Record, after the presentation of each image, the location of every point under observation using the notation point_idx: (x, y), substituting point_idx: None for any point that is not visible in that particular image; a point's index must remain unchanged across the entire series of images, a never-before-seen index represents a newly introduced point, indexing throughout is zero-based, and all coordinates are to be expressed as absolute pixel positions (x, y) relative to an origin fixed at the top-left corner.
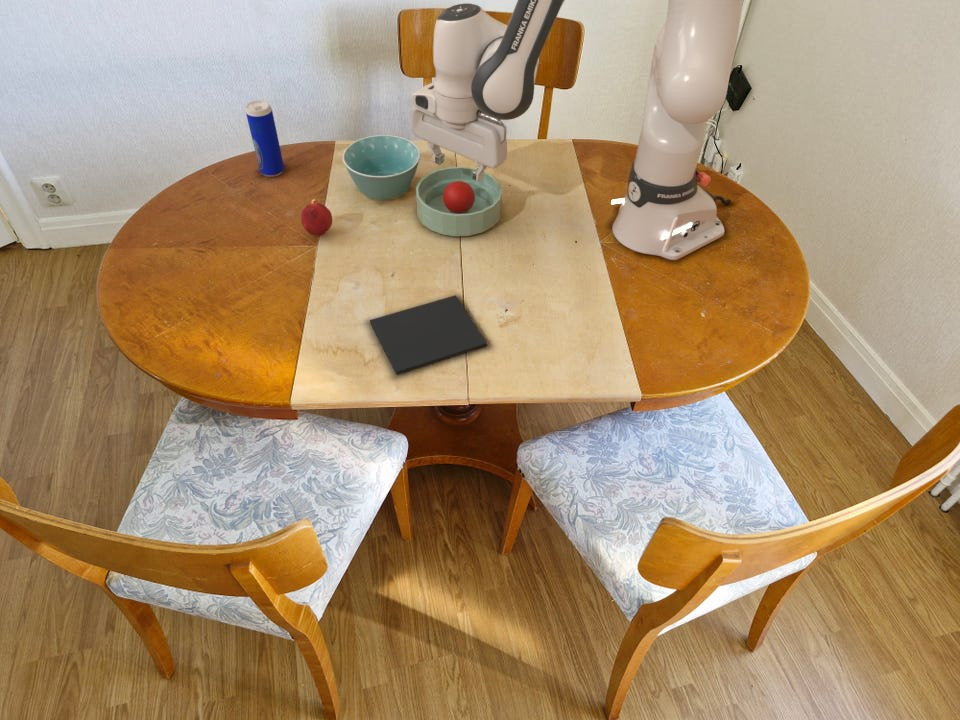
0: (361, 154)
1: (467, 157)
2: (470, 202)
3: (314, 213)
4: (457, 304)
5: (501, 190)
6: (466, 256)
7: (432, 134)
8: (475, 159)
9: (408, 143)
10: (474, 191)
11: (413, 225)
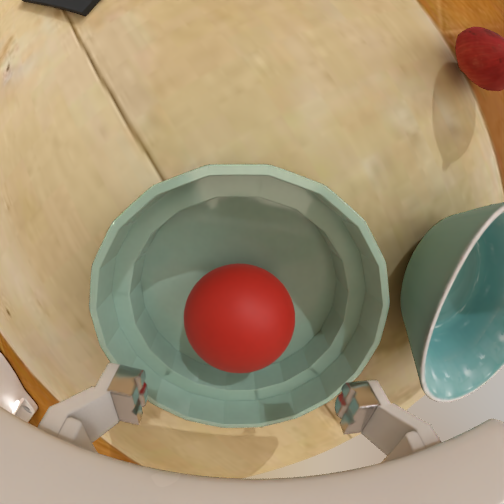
0: None
1: (116, 464)
2: (184, 309)
3: (494, 34)
4: (71, 2)
5: None
6: (116, 132)
7: (443, 497)
8: (48, 448)
9: (451, 394)
10: (242, 374)
11: (325, 173)
